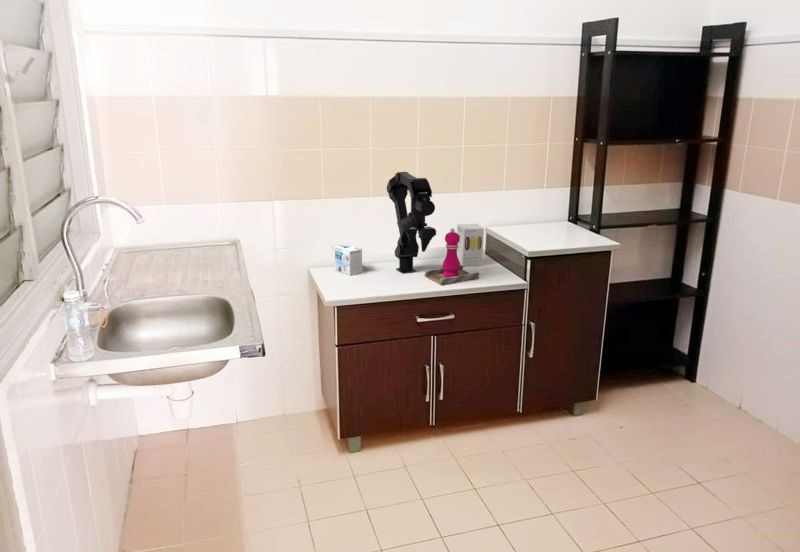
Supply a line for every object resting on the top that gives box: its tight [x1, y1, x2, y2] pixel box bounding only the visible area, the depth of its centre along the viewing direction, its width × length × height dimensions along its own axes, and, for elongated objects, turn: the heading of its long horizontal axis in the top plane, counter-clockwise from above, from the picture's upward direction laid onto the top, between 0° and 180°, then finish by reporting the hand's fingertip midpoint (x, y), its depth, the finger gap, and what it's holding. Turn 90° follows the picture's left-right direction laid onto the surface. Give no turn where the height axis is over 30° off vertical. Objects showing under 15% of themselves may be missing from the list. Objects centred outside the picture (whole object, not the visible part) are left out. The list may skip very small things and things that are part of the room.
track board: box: [424, 265, 480, 286], centre depth 255 cm, size 18×13×2 cm
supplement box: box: [456, 223, 485, 267], centre depth 273 cm, size 10×9×17 cm
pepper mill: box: [442, 228, 460, 278], centre depth 252 cm, size 7×7×20 cm
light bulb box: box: [334, 243, 363, 277], centre depth 261 cm, size 11×7×11 cm, turn 42°
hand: (417, 248), depth 248 cm, fingers open, 9 cm apart
